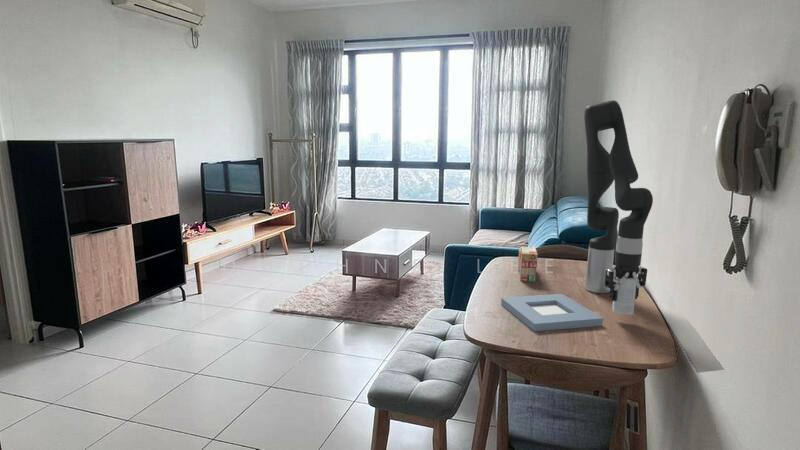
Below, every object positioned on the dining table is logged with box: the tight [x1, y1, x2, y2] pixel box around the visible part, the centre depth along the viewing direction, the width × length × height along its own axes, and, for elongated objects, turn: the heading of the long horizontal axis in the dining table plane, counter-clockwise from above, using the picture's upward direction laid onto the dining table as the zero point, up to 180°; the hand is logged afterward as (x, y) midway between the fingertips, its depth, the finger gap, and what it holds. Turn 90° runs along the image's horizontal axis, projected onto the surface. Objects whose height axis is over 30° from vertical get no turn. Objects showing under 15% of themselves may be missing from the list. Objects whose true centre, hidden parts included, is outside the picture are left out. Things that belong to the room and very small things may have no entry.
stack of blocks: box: [517, 246, 539, 283], centre depth 202 cm, size 21×6×12 cm, turn 169°
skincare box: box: [612, 277, 637, 316], centre depth 150 cm, size 6×4×12 cm
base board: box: [500, 293, 604, 332], centre depth 157 cm, size 24×24×2 cm
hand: (623, 299), depth 150 cm, fingers closed on skincare box, 7 cm apart
